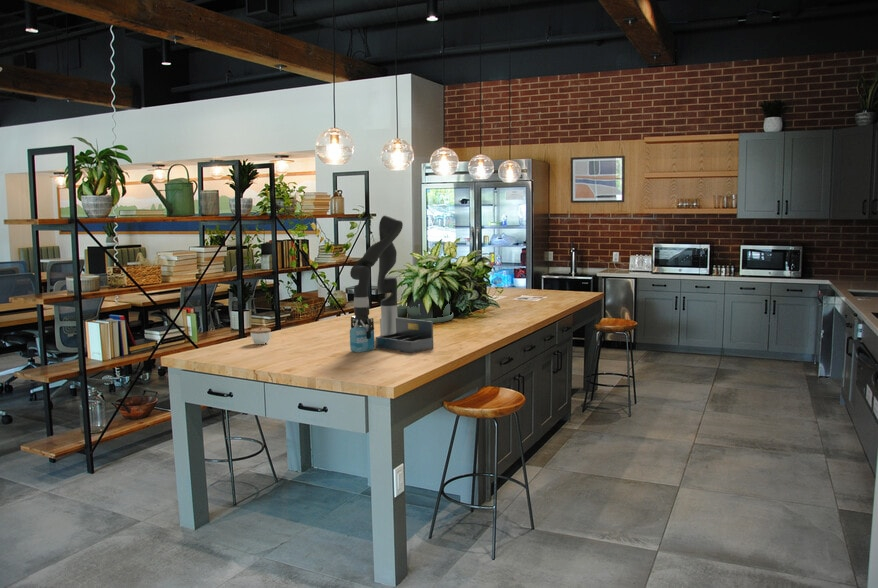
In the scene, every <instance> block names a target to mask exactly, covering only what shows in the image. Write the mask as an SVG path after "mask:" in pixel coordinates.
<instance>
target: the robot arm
mask: <svg viewBox="0 0 878 588" xmlns="http://www.w3.org/2000/svg"><path fill="white" fill-rule="evenodd" d="M403 226H404V225H403V221H402V220H400V219H399V218H396V217H393V216H391V215H387V214H385V215H383V216H381V218H380V221H379V225H378V231H379V233H378V234H379V241H376V242H375V243H373V244H372V245H370V246H369V247H368V248H367V250H366V251H365V253H364V254H363V256H362V257H361V258H360V259H359V260H357V262H355V263H354V265H352V267H351V269H350V273H349V274H350V277H351V278H352V280H355V281H358V283H357V284H356V285H354V287H353V314H354V315H353V316H351V317H350V329H351V328H355V327H361V326H363V327H364V328H365V329H366V331H367V332H366V336H367V339H370V338H371V331H372V330H374V331H375V322H374V318H373V317H371V318H370V317H369V315H370V300H369V286H370V282H371V281H370V280H371V276H372V275H371V271H370V268H372V267H373V266H375V264H376V263H377V261H378V276H377V291H378V293H379V294H390V295H389V296H387V297H386V298H383V299H381V300H380V318H379V327H380V328H379V329H380V330H379V331H380V334H379V335H380V336H384V335H389V334H393V333H396V318H398V312H397V306H398V280H397V277H396V276H387V274H388V273H389V272H390V271H391V270H392V268H394V266H395V265H396V263H397V256H398V255H397V252H398V251H397V248H396V247H395V244H394V240H396V239H397V238H398V236H399V235H400V234H401V232H402V230H403ZM371 326H372V328H371Z"/></svg>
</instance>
